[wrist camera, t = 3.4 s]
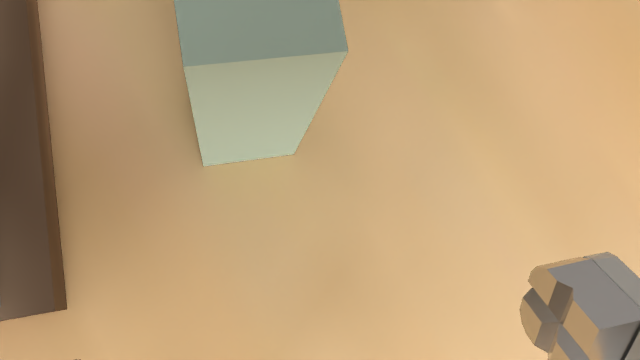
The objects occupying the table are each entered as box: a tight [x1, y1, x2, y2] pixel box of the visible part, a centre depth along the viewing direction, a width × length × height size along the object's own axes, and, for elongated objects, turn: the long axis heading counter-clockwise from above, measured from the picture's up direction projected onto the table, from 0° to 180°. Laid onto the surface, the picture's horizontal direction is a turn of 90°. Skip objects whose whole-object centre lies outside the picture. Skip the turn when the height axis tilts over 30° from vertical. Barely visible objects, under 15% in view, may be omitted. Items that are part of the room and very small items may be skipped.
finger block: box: [174, 0, 348, 166], centre depth 18 cm, size 4×4×11 cm
